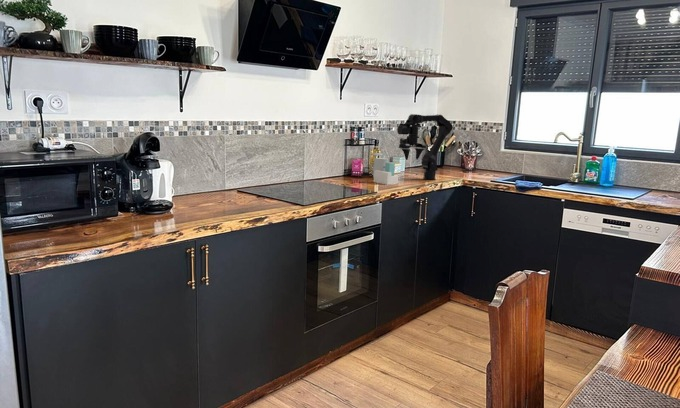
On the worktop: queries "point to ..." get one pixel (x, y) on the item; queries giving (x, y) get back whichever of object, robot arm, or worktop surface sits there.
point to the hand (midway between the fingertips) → (411, 159)
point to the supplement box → (380, 164)
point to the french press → (375, 155)
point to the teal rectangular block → (390, 168)
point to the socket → (385, 177)
